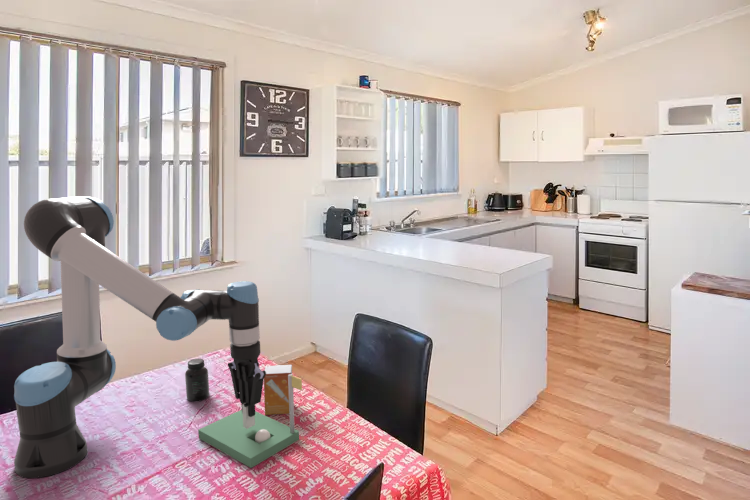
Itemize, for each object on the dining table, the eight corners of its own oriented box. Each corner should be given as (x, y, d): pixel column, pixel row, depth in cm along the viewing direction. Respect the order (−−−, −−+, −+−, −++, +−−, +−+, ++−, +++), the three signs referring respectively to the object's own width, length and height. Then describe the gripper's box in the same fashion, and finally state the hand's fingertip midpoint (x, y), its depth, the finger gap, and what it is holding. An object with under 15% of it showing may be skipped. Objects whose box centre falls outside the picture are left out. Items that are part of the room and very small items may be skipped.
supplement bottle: (187, 393, 159) (185, 358, 157) (209, 391, 161) (207, 356, 159) (186, 403, 152) (183, 366, 150) (209, 400, 154) (207, 363, 152)
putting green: (198, 438, 132) (194, 373, 129) (247, 415, 145) (244, 355, 142) (259, 472, 117) (255, 399, 114) (307, 443, 130) (305, 377, 127)
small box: (264, 415, 144) (263, 373, 142) (266, 405, 151) (264, 365, 149) (292, 414, 146) (291, 372, 144) (293, 404, 152) (292, 364, 150)
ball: (253, 447, 128) (250, 432, 128) (266, 440, 132) (262, 426, 131) (262, 449, 126) (259, 434, 126) (275, 441, 129) (271, 427, 129)
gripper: (273, 342, 127) (276, 427, 130) (241, 332, 134) (245, 413, 138) (249, 351, 121) (253, 440, 124) (217, 340, 128) (222, 424, 132)
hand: (249, 425), depth 131 cm, fingers closed
